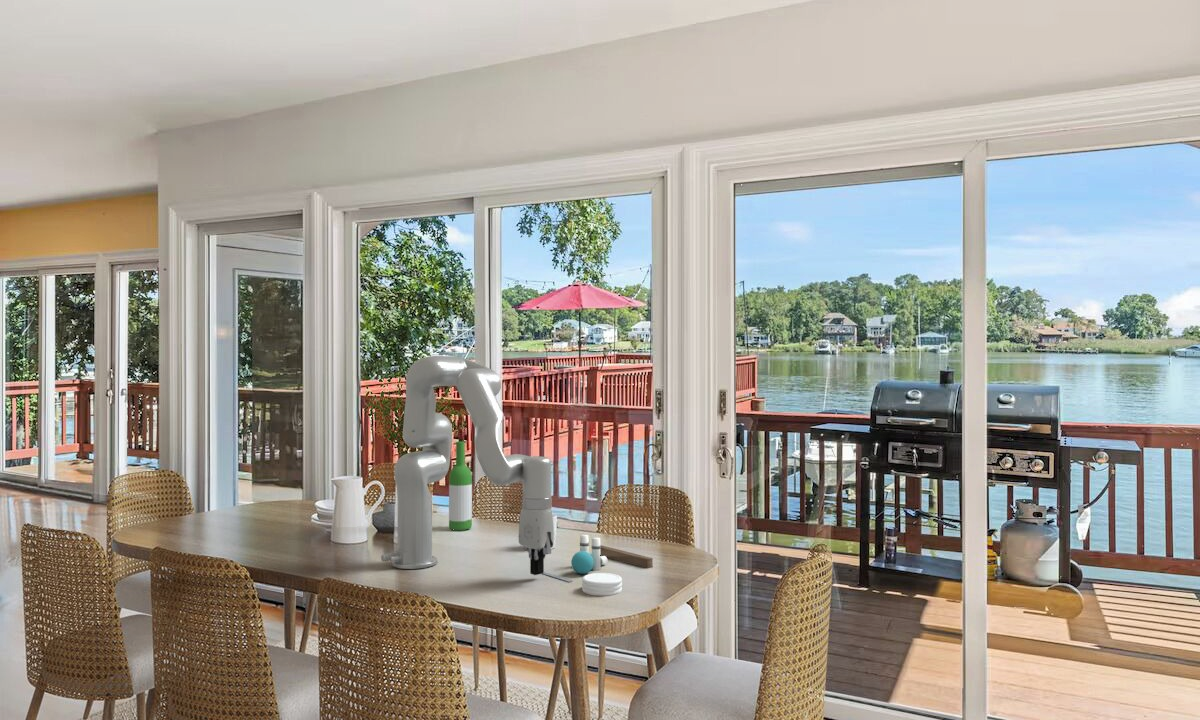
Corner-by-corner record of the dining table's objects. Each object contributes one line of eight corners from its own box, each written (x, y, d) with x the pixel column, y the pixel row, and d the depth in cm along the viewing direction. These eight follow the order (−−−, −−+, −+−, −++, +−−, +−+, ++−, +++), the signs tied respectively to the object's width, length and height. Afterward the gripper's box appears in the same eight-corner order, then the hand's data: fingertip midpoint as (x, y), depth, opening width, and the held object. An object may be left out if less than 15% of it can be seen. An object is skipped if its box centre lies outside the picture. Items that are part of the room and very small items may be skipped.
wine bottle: (476, 528, 280) (476, 441, 280) (461, 532, 273) (461, 443, 274) (459, 526, 284) (459, 440, 284) (444, 529, 277) (444, 442, 278)
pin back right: (595, 571, 222) (595, 539, 222) (589, 569, 223) (589, 538, 224) (602, 569, 223) (602, 538, 223) (596, 567, 225) (596, 537, 225)
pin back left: (583, 567, 225) (583, 537, 225) (578, 565, 227) (578, 535, 227) (590, 566, 227) (590, 535, 227) (584, 564, 229) (584, 534, 229)
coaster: (574, 592, 201) (574, 578, 201) (596, 583, 210) (596, 570, 210) (607, 599, 196) (607, 584, 196) (629, 589, 204) (629, 575, 204)
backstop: (647, 568, 225) (647, 559, 225) (595, 554, 241) (595, 546, 241) (652, 567, 226) (652, 558, 226) (600, 553, 242) (600, 545, 242)
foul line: (569, 582, 210) (569, 581, 210) (532, 570, 222) (532, 570, 222) (572, 581, 211) (572, 580, 211) (535, 570, 223) (535, 569, 223)
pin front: (584, 562, 222) (607, 556, 228) (579, 559, 224) (601, 554, 230) (584, 571, 222) (607, 565, 228) (578, 568, 224) (601, 563, 230)
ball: (589, 580, 219) (571, 575, 216) (581, 565, 224) (564, 561, 221) (600, 563, 217) (583, 558, 214) (593, 549, 222) (575, 544, 219)
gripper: (508, 501, 216) (508, 570, 216) (542, 509, 205) (542, 582, 205) (531, 498, 221) (531, 566, 221) (566, 505, 210) (566, 576, 210)
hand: (537, 573), depth 213 cm, fingers closed
